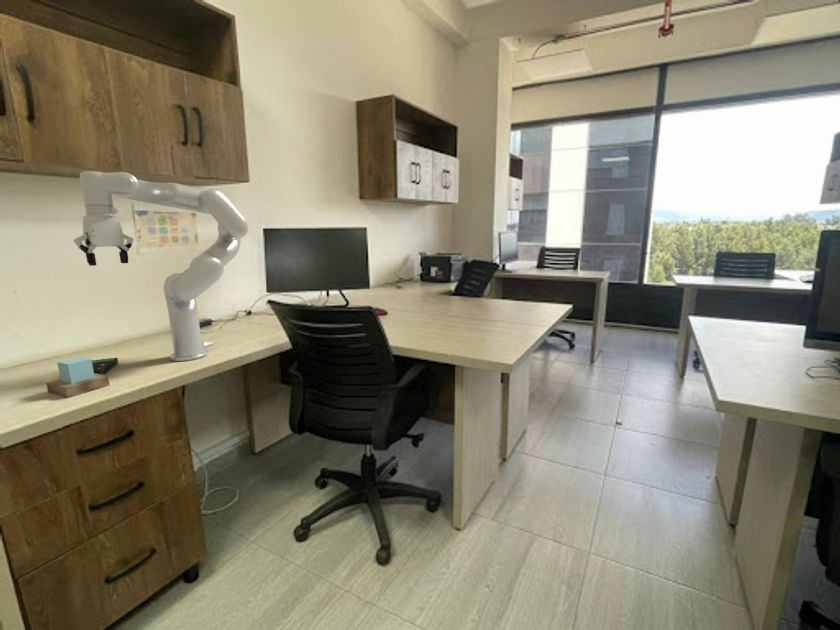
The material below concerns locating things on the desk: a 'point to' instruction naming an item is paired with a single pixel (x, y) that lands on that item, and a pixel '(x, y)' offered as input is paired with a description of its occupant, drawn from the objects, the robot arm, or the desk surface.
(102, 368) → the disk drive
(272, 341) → the desk surface
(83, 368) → the teal cube
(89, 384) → the walnut base
